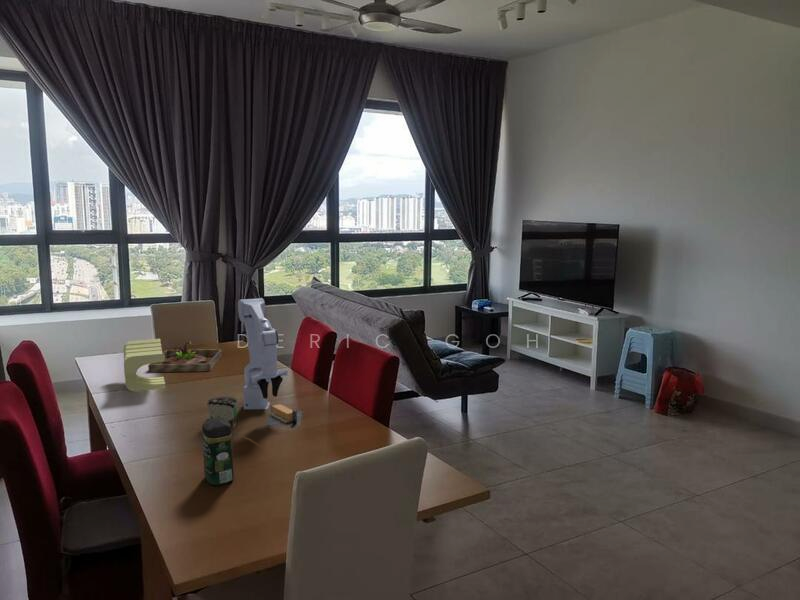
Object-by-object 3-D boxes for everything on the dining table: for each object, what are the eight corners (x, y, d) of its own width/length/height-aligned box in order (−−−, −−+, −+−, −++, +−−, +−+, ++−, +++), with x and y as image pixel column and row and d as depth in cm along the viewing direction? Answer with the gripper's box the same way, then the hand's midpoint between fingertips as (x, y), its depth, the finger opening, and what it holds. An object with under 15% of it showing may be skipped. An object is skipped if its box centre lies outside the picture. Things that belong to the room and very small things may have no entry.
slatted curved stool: (125, 379, 284) (123, 341, 281) (162, 375, 291) (160, 338, 288) (126, 398, 257) (123, 357, 254) (166, 393, 264) (164, 353, 261)
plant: (213, 364, 312) (213, 342, 310) (177, 371, 298) (175, 349, 296) (194, 356, 326) (193, 336, 324) (158, 363, 312) (157, 342, 310)
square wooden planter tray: (148, 372, 296) (148, 364, 295) (166, 356, 324) (165, 350, 324) (210, 371, 298) (210, 364, 298) (222, 355, 327) (221, 349, 326)
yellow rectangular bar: (295, 418, 232) (295, 411, 232) (287, 420, 230) (287, 413, 230) (279, 409, 241) (279, 403, 241) (271, 411, 239) (271, 405, 238)
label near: (285, 422, 230) (285, 421, 230) (278, 418, 234) (278, 417, 234) (296, 419, 233) (296, 418, 233) (289, 415, 237) (289, 414, 237)
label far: (278, 418, 234) (278, 417, 234) (271, 415, 237) (271, 414, 237) (289, 415, 237) (289, 414, 237) (283, 412, 241) (283, 411, 241)
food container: (246, 424, 230) (245, 398, 228) (236, 430, 224) (235, 403, 222) (218, 420, 234) (217, 394, 232) (208, 425, 228) (206, 399, 226)
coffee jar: (201, 476, 187) (198, 417, 184) (227, 470, 191) (225, 413, 188) (210, 488, 179) (207, 428, 176) (236, 482, 183) (234, 423, 180)
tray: (266, 427, 227) (266, 413, 226) (271, 413, 241) (271, 400, 240) (299, 426, 228) (299, 413, 227) (302, 412, 242) (302, 399, 242)
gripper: (256, 367, 222) (258, 403, 224) (291, 360, 231) (292, 395, 234) (247, 363, 227) (248, 399, 229) (281, 357, 236) (282, 391, 239)
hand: (270, 397), depth 232 cm, fingers open, 3 cm apart
